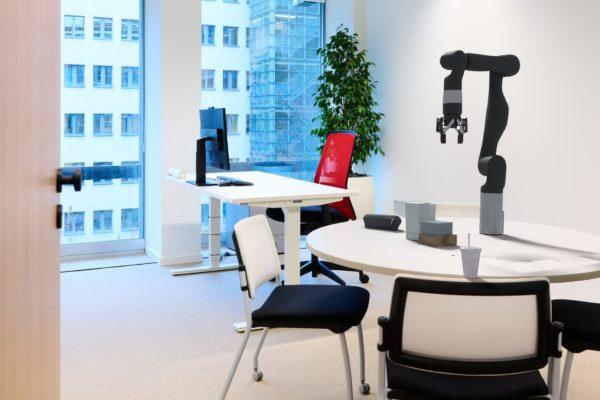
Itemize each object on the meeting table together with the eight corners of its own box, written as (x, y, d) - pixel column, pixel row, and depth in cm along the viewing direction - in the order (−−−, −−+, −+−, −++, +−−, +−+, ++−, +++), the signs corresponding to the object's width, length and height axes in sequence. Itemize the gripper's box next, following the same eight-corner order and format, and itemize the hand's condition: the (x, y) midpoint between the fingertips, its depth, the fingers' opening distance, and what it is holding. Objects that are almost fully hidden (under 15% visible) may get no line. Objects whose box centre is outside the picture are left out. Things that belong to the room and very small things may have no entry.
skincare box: (430, 240, 251) (431, 202, 250) (419, 241, 248) (419, 203, 247) (415, 238, 258) (415, 201, 257) (404, 239, 255) (404, 201, 254)
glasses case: (405, 232, 278) (405, 214, 278) (395, 234, 269) (395, 216, 269) (368, 229, 288) (368, 212, 287) (357, 231, 279) (357, 213, 279)
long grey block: (435, 226, 302) (435, 204, 301) (413, 227, 300) (414, 204, 299) (412, 220, 333) (413, 199, 332) (393, 220, 331) (393, 199, 331)
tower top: (436, 232, 245) (436, 220, 245) (452, 234, 239) (452, 222, 238) (421, 233, 240) (421, 221, 240) (437, 235, 234) (438, 223, 234)
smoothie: (463, 276, 197) (463, 231, 196) (484, 278, 194) (484, 232, 193) (456, 280, 192) (456, 234, 191) (477, 282, 188) (478, 235, 187)
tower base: (439, 243, 247) (439, 231, 246) (456, 246, 238) (457, 234, 237) (418, 244, 242) (418, 233, 242) (435, 248, 233) (435, 236, 233)
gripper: (459, 103, 258) (458, 144, 259) (432, 102, 252) (431, 143, 253) (472, 102, 252) (472, 143, 253) (444, 101, 245) (444, 143, 246)
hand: (451, 143), depth 253 cm, fingers open, 8 cm apart
